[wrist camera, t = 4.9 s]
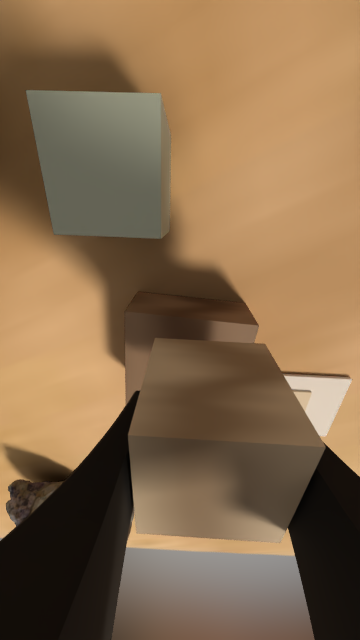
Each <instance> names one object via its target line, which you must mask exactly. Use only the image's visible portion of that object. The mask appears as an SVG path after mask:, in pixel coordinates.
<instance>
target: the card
mask: <svg viewBox="0 0 360 640" xmlns="http://www.w3.org/2000/svg"><path fill="white" fill-rule="evenodd" d="M283 375H284V377H285V379H286V380H287V382H288V384H289V385H290V387H291V389H292V391H293V392H294V394H295V396H296V397H297V399H298V401H299V402H300V404H301V406H302V408H303V409H304V411H305V413H306V414H307V416H308V418H309V419H310V421H311V423H312V425H313V426H314V428H315V430H316V431H317V433H318V435H319V436H326V435H327V433H328V431H329V429H330V427H331V424H332V422H333V420H334V418H335V416H336V414H337V411H338V409H339V407H340V405H341V403H342V400H343V398H344V396H345V394H346V392H347V390H348V387H349V385H350V383H351V381H352V379H351V378H350V377H338V376H319V375H300V374H283Z"/></svg>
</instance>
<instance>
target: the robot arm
mask: <svg viewBox="0 0 360 640" xmlns="http://www.w3.org/2000/svg"><path fill="white" fill-rule="evenodd" d="M139 394H140V391H138V390H137V391H135V392H134V393H133V395H132V397H131V398H130V400H129V402H128V403H127V405H126V406H125V408H124V409H123V411H122V412H121V414H120V415H119V416H118V418H117V419H116V421H115V422H114V423H113V425H112V426H111V427H110V429H109V430H108V431H107V433H106V434H105V435H104V436H103V438H102V439H101V440H100V441H99V442H98V444H97V445H96V446H95V447H94V449H93V450H92V451H91V452H90V453H89V455H88V456H87V457H86V458H85V459H84V460H83V461H82V463H81V464H80V465H79V466H78V467H77V468H76V469H75V470H74V471H73V472H72V473H71V474H70V476H69V477H68V478H67V479H66V480H65V481H64V482H63V483H62V484H61V485H60V486H59V487H58V488H57V489H56V490H55V491H54V492H53V493H52V494H51V495H50V496H49V497H48V498H47V499H46V500H45V501H44V502H43V503H42V504H41V505H40V506H38V507H37V508H36V509H35V510H34V511H33V512H32V513H31V514H30V515H29V516H28V517H27V518H25V519H24V520H23V521H22V522H21V523H20V524H19V525H18V526H17V527H15V528H14V529H13V530H12V531H11V532H10V533H9V534H8V535H6V536H5V537H4V538H3V539H2V540H1V541H0V640H111V638H112V632H113V625H114V619H115V612H116V606H117V598H118V593H119V587H120V581H121V574H122V568H123V562H124V556H125V550H126V544H127V538H128V532H129V526H130V521H131V516H132V511H133V507H134V501H133V489H132V477H131V466H130V454H129V442H128V433H129V429H130V426H131V422H132V419H133V415H134V411H135V408H136V404H137V401H138V397H139ZM322 442H323V441H322ZM323 443H324V442H323ZM324 445H325V447H326V448H325V450H324V452H323V454H322V456H321V458H320V461H319V463H318V465H317V467H316V469H315V471H314V473H313V475H312V477H311V479H310V482H309V484H308V486H307V488H306V490H305V492H304V494H303V496H302V498H301V500H300V503H299V505H298V507H297V509H296V511H295V513H294V515H293V517H292V519H291V521H290V524H289V526H288V530H289V533H290V537H291V541H292V545H293V549H294V553H295V557H296V560H297V564H298V568H299V573H300V577H301V581H302V585H303V589H304V594H305V598H306V602H307V606H308V611H309V615H310V620H311V624H312V629H313V634H314V638H315V640H360V477H359V476H358V475H357V474H356V473H355V472H354V471H353V470H352V469H350V468H349V467H348V466H347V465H346V464H345V463H344V462H343V461H342V460H341V459H340V458H339V457H338V456H337V455H336V454H335V453H334V452H333V451H332V450H331V449H330V448H329V447H328V446H327V445H326V444H325V443H324Z"/></svg>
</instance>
